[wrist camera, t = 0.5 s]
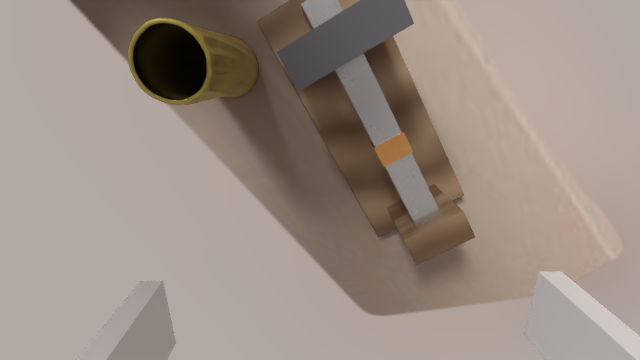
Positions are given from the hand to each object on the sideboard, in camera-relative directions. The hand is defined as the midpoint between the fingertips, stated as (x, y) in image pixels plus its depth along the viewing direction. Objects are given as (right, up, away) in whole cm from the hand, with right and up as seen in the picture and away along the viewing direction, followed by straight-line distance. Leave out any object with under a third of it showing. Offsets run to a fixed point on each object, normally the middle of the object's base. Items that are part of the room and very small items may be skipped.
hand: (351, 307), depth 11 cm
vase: (-11, +16, +22) cm, 30 cm away
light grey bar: (+4, +11, +19) cm, 22 cm away
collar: (0, +17, +20) cm, 26 cm away
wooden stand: (+4, +12, +24) cm, 27 cm away
